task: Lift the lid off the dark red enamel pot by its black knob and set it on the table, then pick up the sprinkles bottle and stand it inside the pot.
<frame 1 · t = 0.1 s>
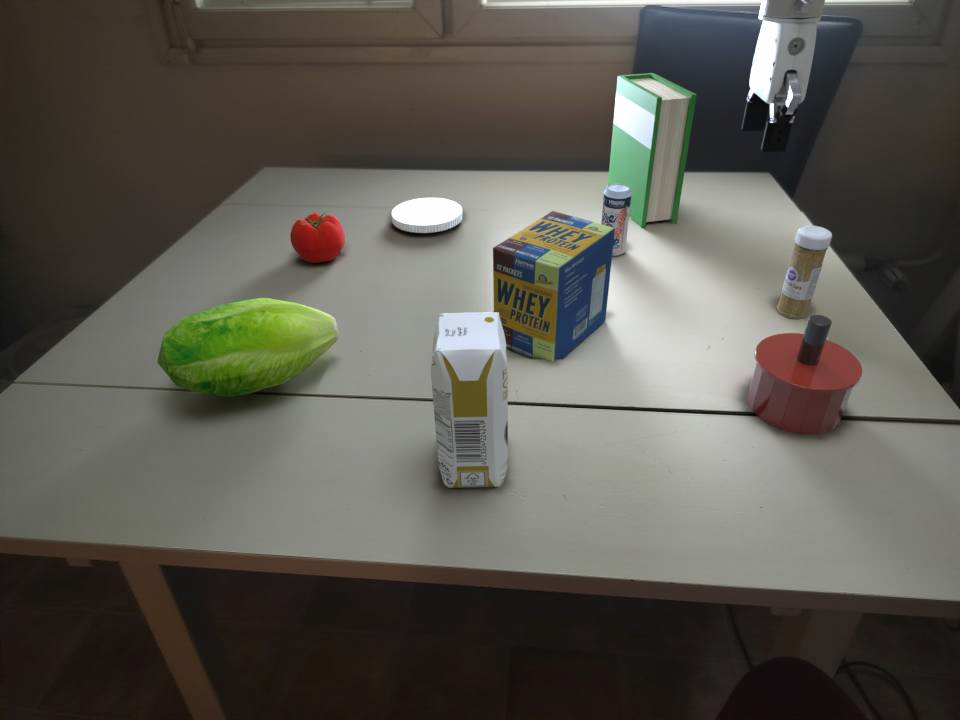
hand: (762, 140, 95), 24 cm above the table, tool pointing down, fingers open, 9 cm apart
lettuce: (260, 384, 91), on the table
lid: (806, 363, 79), point 7 cm above the table, touching pot
sprinkles bottle: (791, 313, 102), on the table
pot: (791, 412, 83), on the table
beer can: (611, 252, 121), on the table
juice carton: (474, 471, 76), on the table
hardback book: (639, 209, 136), on the table
tomato: (320, 258, 122), on the table
protein box: (551, 333, 99), on the table
plastic lid: (427, 223, 133), on the table
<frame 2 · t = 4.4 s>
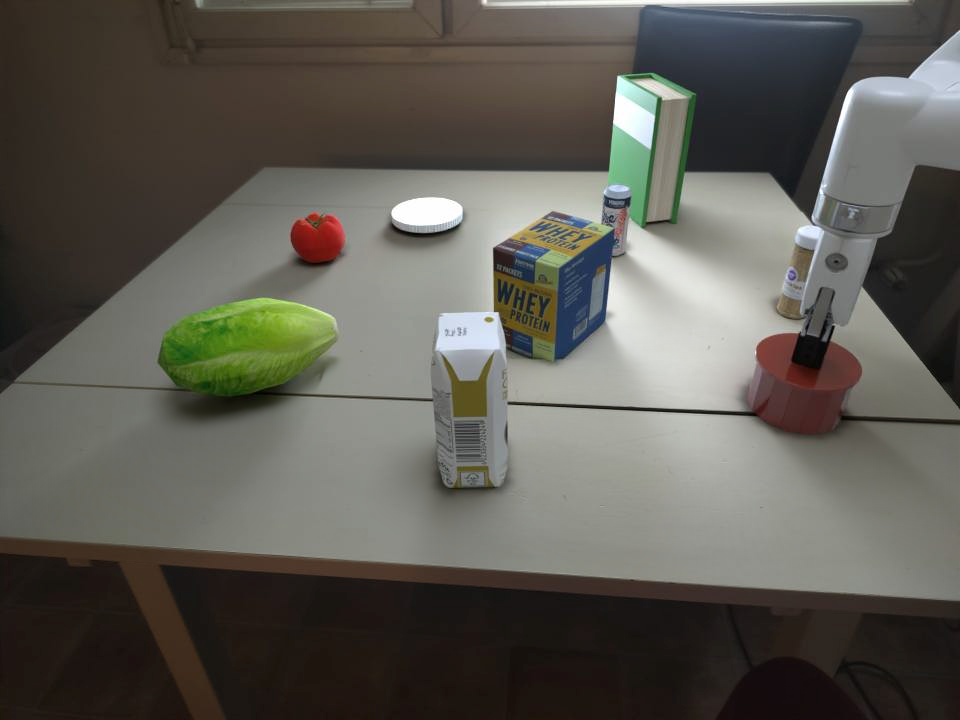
hand: (808, 357, 78), 8 cm above the table, tool pointing down, fingers closed on lid, 2 cm apart
lid: (806, 363, 79), point 8 cm above the table, touching gripper, pot
everything else where it was.
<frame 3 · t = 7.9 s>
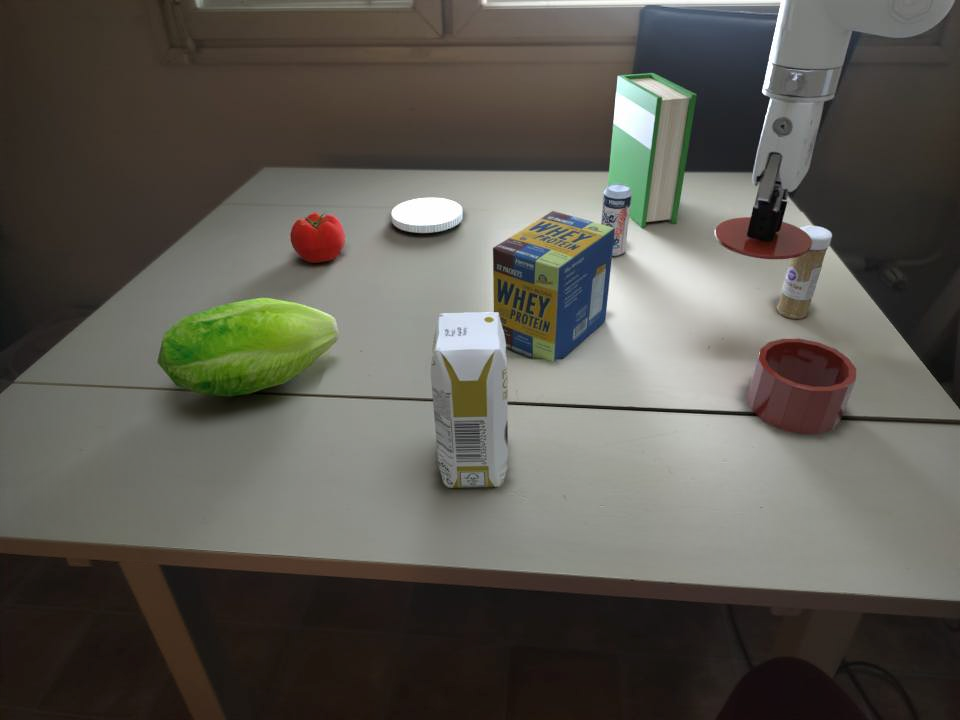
hand: (763, 232, 84), 18 cm above the table, tool pointing down, fingers closed on lid, 2 cm apart
lid: (761, 239, 85), point 17 cm above the table, touching gripper
everything else where it was.
when the fingers open (1 cm above the table, at t = 11.5 s): lid stays where it is, point 1 cm above the table.
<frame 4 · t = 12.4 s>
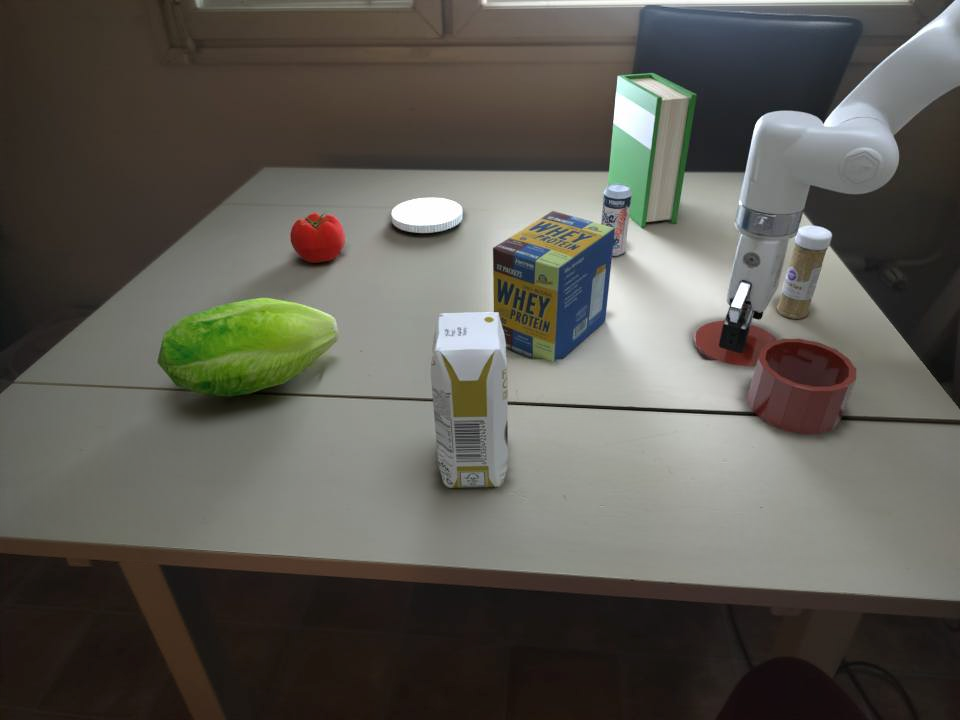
hand: (740, 332, 93), 3 cm above the table, tool pointing down, fingers open, 9 cm apart
lid: (736, 344, 94), point 1 cm above the table
everything else where it was.
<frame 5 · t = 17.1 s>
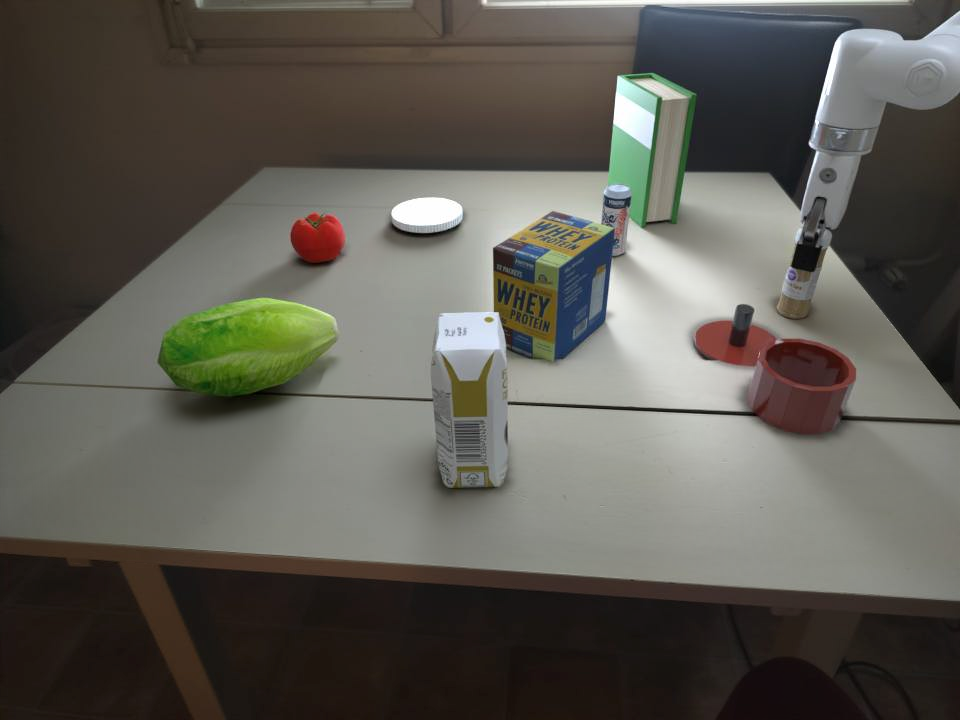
hand: (806, 260, 97), 9 cm above the table, tool pointing down, fingers closed on sprinkles bottle, 4 cm apart
sprinkles bottle: (791, 313, 102), on the table, touching gripper
everything else where it was.
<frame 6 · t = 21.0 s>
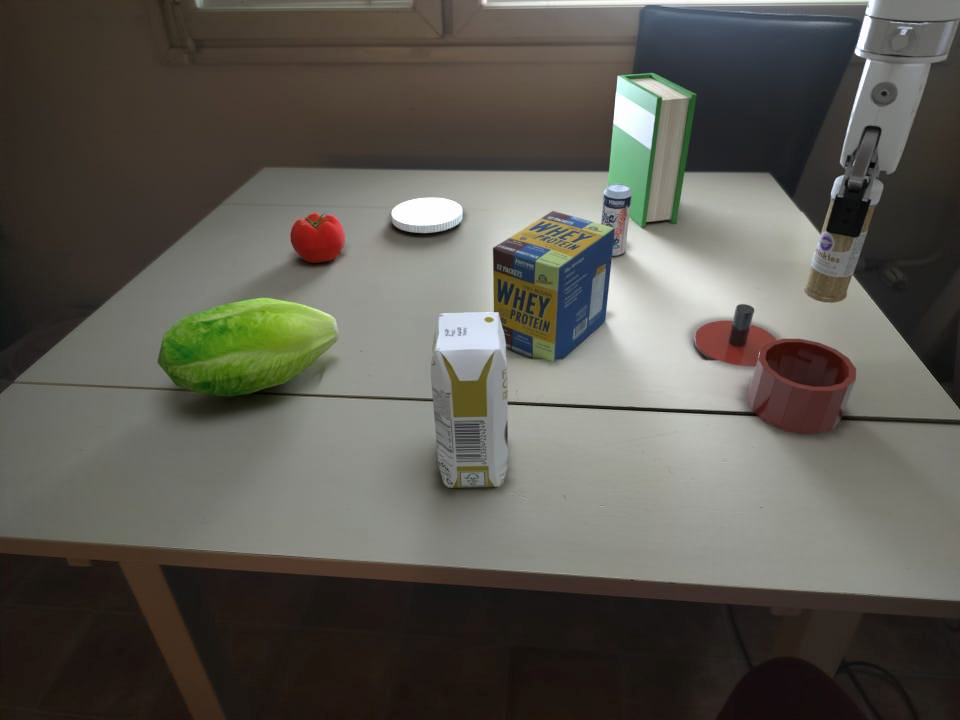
hand: (847, 223, 71), 24 cm above the table, tool pointing down, fingers closed on sprinkles bottle, 4 cm apart
sprinkles bottle: (824, 296, 76), point 15 cm above the table, touching gripper
everything else where it was.
when the fingers open (9 cm above the table, at t = 24.8 s): sprinkles bottle stays where it is, resting on pot.
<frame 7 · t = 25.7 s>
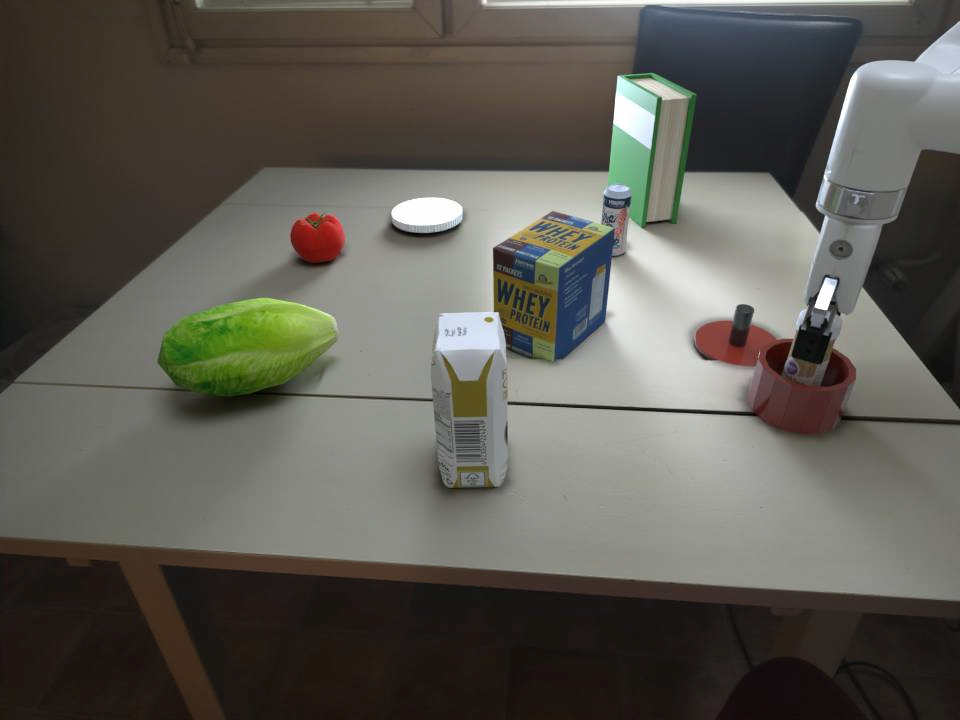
hand: (815, 338, 77), 11 cm above the table, tool pointing down, fingers open, 9 cm apart
sprinkles bottle: (791, 410, 83), resting on pot
everything else where it was.
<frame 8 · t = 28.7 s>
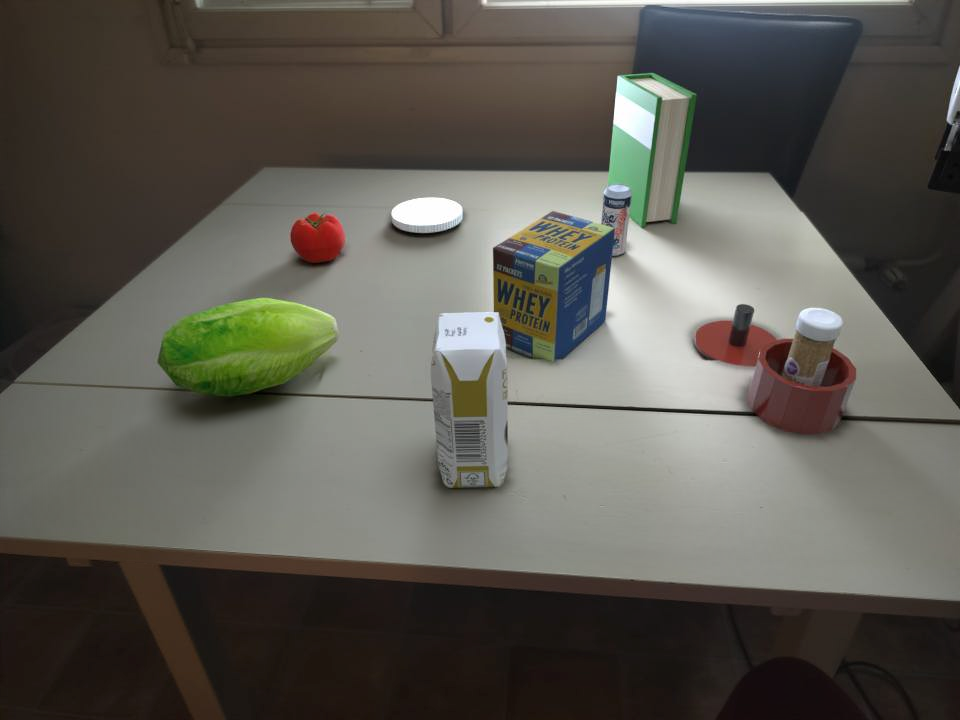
hand: (947, 175, 70), 28 cm above the table, tool pointing down, fingers open, 9 cm apart
nothing on the table moved.
at the end: lid inside the target area (0.1 cm from its centre), point 0.6 cm above the table; sprinkles bottle 0.0 cm off-centre in the pot, point 0.3 cm above the pot's base; sprinkles bottle tilted 0° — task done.
